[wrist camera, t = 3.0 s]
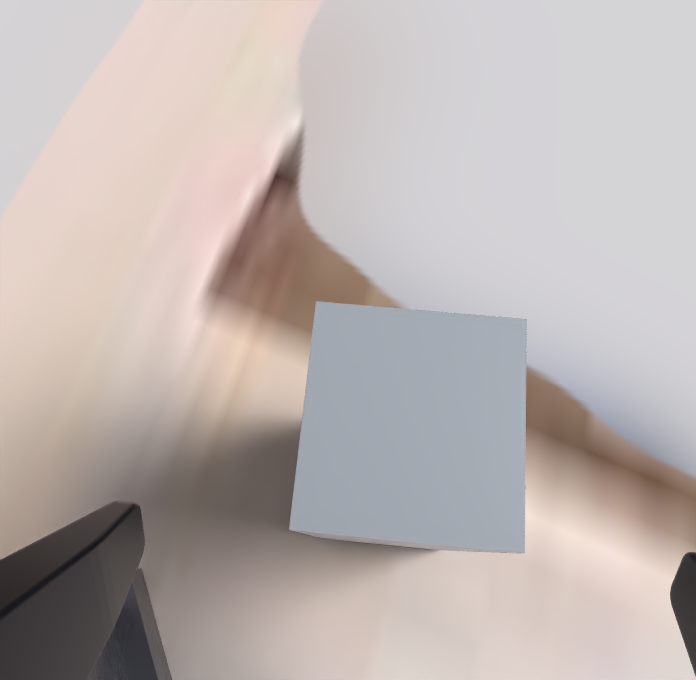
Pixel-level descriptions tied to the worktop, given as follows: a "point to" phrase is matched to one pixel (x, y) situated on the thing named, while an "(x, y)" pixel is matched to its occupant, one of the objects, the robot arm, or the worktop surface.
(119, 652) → the dark grey tray
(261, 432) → the worktop surface
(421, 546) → the tall grey box
